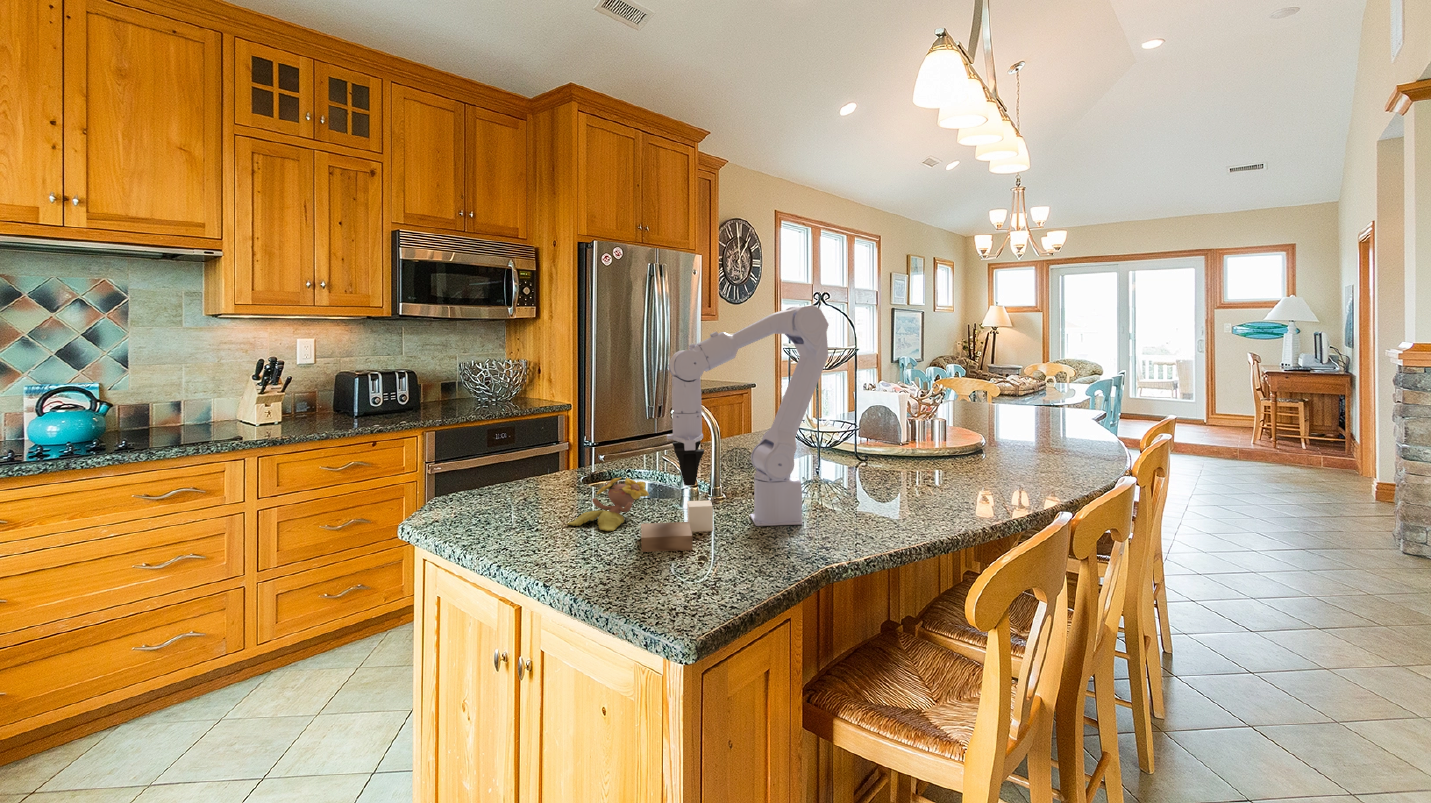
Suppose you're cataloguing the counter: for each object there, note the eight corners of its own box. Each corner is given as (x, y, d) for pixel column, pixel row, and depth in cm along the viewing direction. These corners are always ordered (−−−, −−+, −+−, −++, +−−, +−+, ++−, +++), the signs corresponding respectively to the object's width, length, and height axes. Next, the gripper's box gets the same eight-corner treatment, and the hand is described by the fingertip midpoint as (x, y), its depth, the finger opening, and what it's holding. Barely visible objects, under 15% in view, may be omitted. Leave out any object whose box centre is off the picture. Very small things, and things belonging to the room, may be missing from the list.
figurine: (561, 523, 137) (591, 460, 145) (583, 544, 144) (611, 483, 152) (611, 531, 132) (640, 465, 140) (632, 553, 138) (659, 489, 146)
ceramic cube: (710, 524, 138) (710, 500, 138) (712, 531, 133) (712, 506, 133) (687, 525, 138) (687, 501, 137) (689, 532, 133) (689, 506, 132)
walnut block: (689, 537, 131) (688, 521, 130) (692, 552, 122) (692, 535, 122) (641, 539, 130) (641, 523, 130) (641, 554, 121) (641, 537, 121)
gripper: (665, 408, 140) (666, 473, 142) (667, 417, 126) (669, 489, 127) (699, 407, 141) (700, 472, 142) (705, 416, 127) (707, 488, 128)
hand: (688, 480), depth 135 cm, fingers open, 7 cm apart
